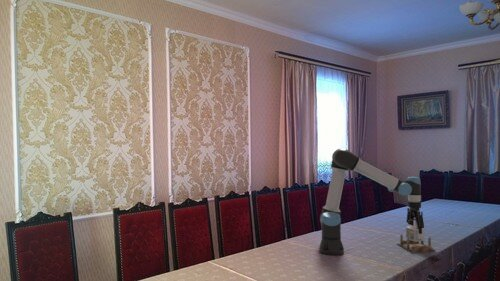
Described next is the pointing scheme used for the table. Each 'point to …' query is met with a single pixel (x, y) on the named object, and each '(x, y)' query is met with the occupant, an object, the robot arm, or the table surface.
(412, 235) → the container
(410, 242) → the tray
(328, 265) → the table surface
